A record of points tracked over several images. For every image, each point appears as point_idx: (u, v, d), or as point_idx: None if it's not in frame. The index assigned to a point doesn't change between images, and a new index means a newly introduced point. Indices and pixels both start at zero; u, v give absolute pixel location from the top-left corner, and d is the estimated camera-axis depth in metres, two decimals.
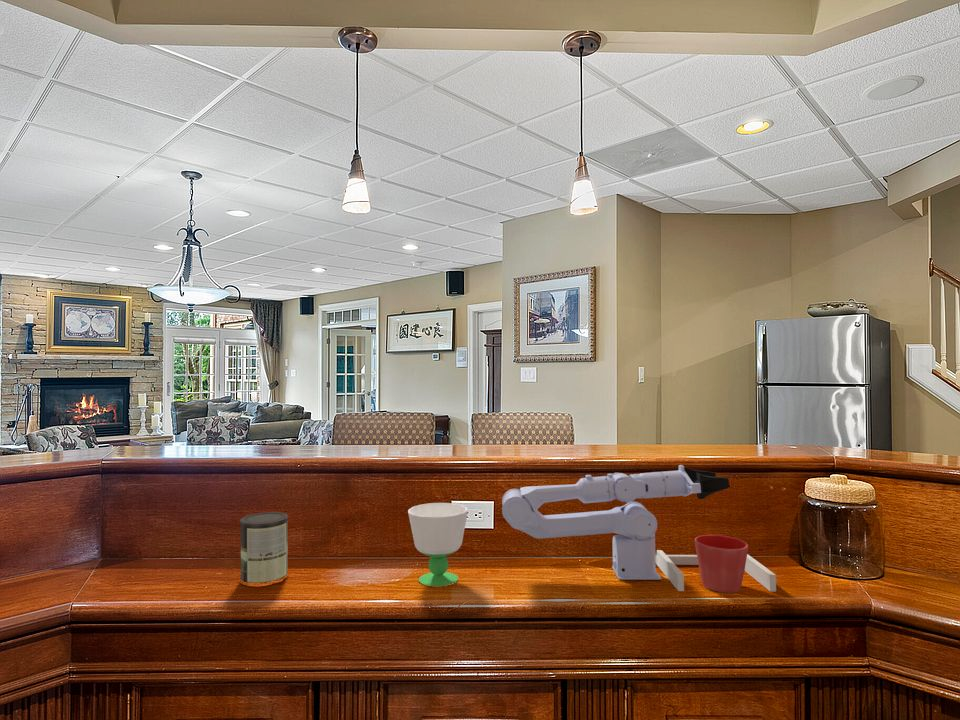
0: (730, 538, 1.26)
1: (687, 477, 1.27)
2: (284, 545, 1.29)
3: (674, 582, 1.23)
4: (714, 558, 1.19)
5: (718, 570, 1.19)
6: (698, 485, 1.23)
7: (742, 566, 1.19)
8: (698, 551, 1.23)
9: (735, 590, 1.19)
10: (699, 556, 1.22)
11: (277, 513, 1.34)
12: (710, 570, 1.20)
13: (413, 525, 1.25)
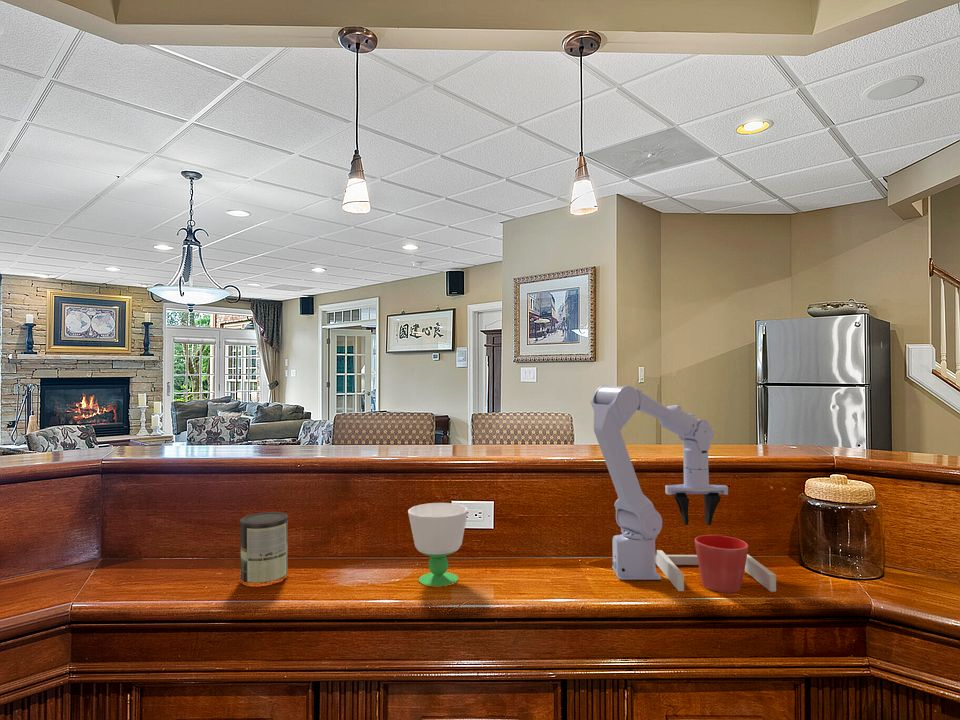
0: (730, 538, 1.26)
1: None
2: (284, 545, 1.29)
3: (674, 582, 1.23)
4: (714, 558, 1.19)
5: (718, 570, 1.19)
6: None
7: (742, 566, 1.19)
8: (698, 551, 1.23)
9: (735, 590, 1.19)
10: (699, 556, 1.22)
11: (277, 513, 1.34)
12: (710, 570, 1.20)
13: (413, 525, 1.25)
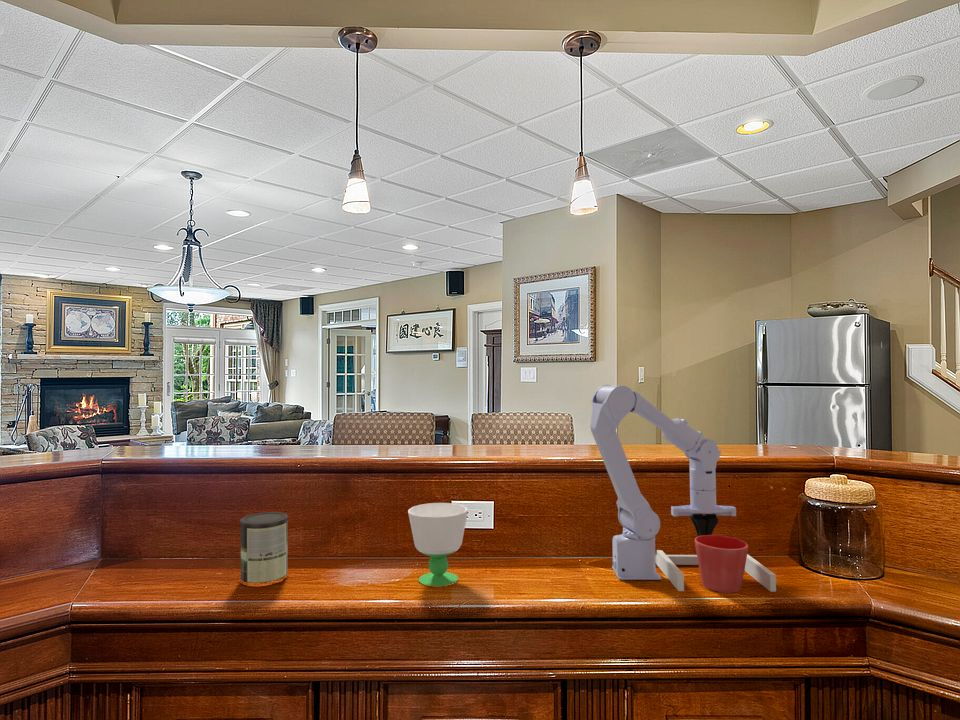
0: (730, 538, 1.26)
1: None
2: (284, 545, 1.29)
3: (674, 582, 1.23)
4: (714, 558, 1.19)
5: (718, 570, 1.19)
6: None
7: (742, 566, 1.19)
8: (698, 551, 1.23)
9: (735, 590, 1.19)
10: (699, 556, 1.22)
11: (277, 513, 1.34)
12: (710, 570, 1.20)
13: (413, 525, 1.25)
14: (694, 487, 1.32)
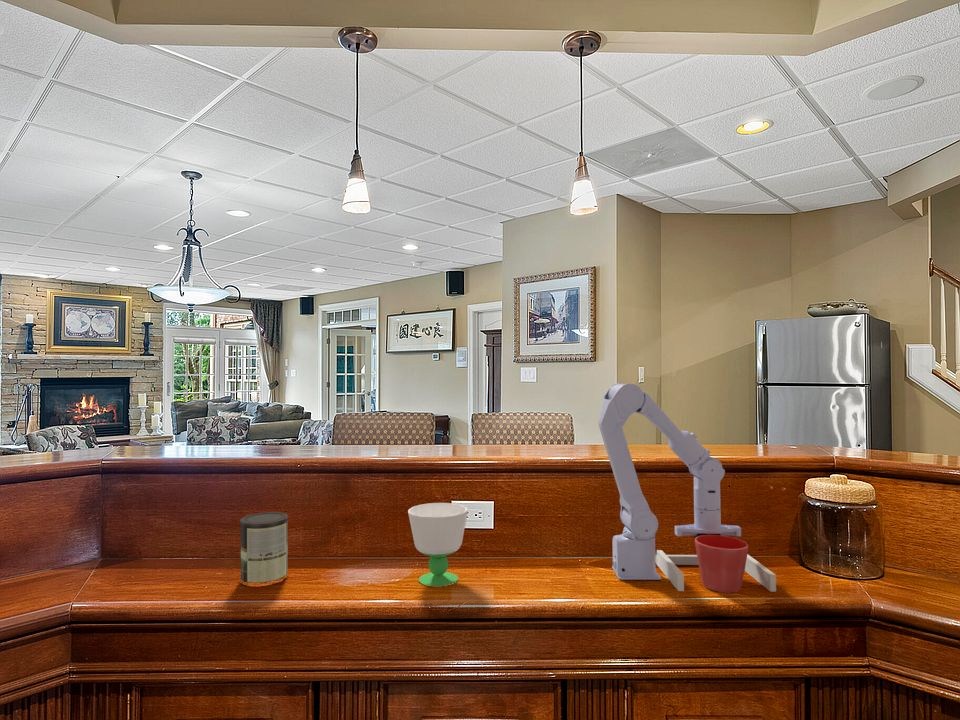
0: (730, 538, 1.26)
1: None
2: (284, 545, 1.29)
3: (674, 582, 1.23)
4: (714, 558, 1.19)
5: (718, 569, 1.19)
6: None
7: (742, 566, 1.19)
8: (698, 551, 1.23)
9: (735, 590, 1.19)
10: (699, 556, 1.22)
11: (277, 513, 1.34)
12: (710, 570, 1.20)
13: (413, 525, 1.25)
14: (697, 506, 1.30)
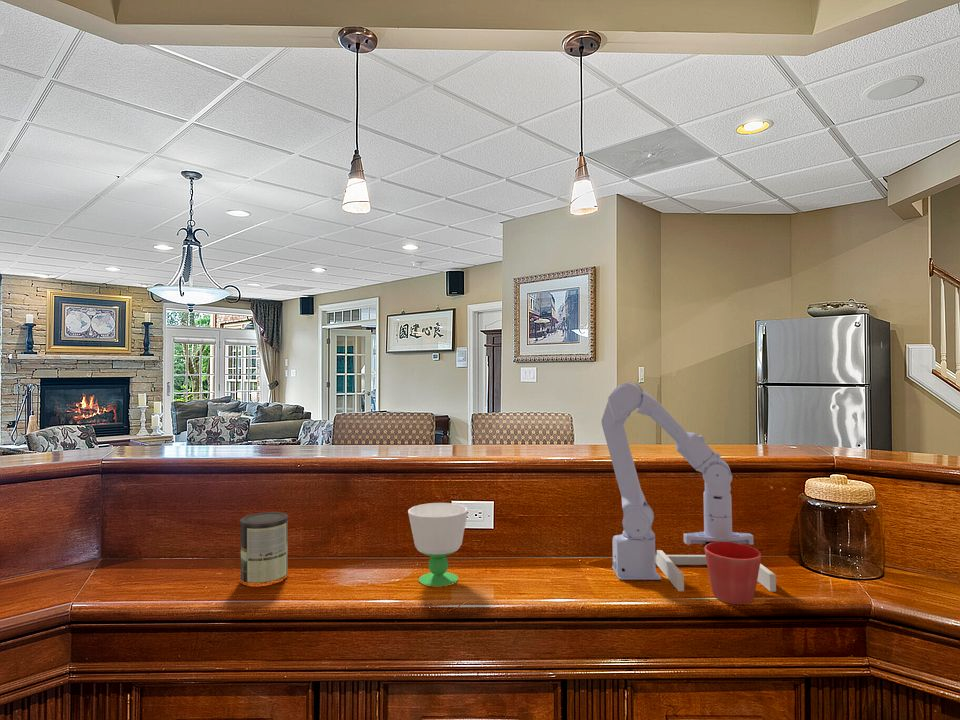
0: (745, 546, 1.20)
1: None
2: (284, 545, 1.29)
3: (674, 582, 1.23)
4: (722, 568, 1.13)
5: (726, 580, 1.13)
6: None
7: (753, 577, 1.12)
8: (707, 559, 1.17)
9: (746, 602, 1.13)
10: (708, 564, 1.17)
11: (277, 513, 1.34)
12: (718, 580, 1.14)
13: (413, 525, 1.25)
14: (704, 511, 1.25)
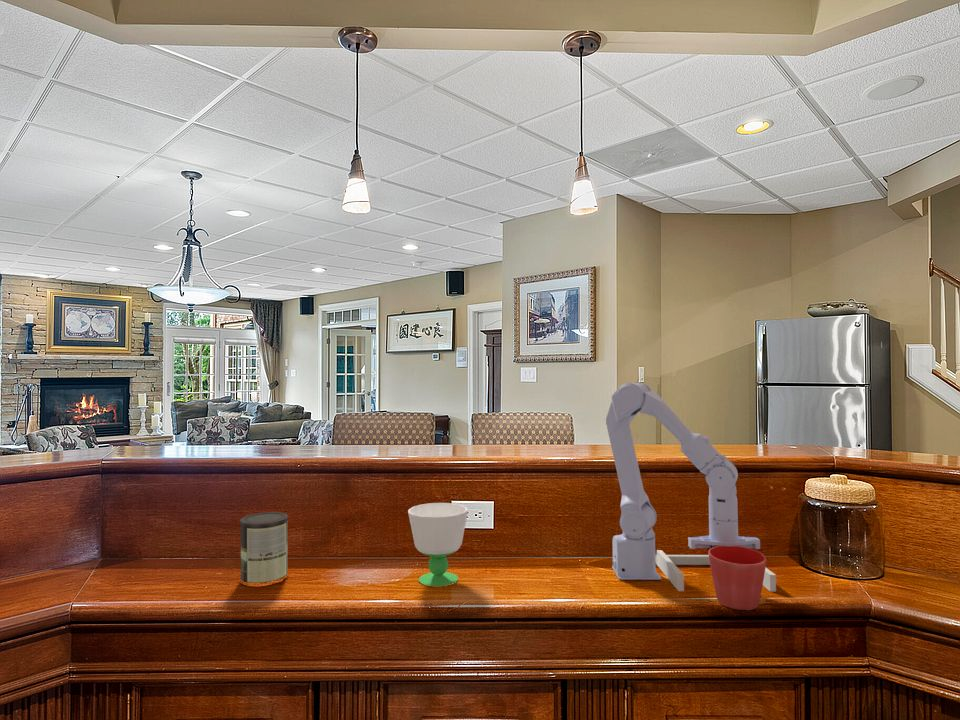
0: (752, 551, 1.16)
1: None
2: (284, 545, 1.29)
3: (674, 582, 1.23)
4: (723, 572, 1.11)
5: (728, 585, 1.11)
6: None
7: (756, 583, 1.09)
8: (710, 563, 1.15)
9: (749, 608, 1.10)
10: (711, 568, 1.15)
11: (277, 513, 1.34)
12: (720, 584, 1.12)
13: (413, 525, 1.25)
14: (709, 514, 1.22)
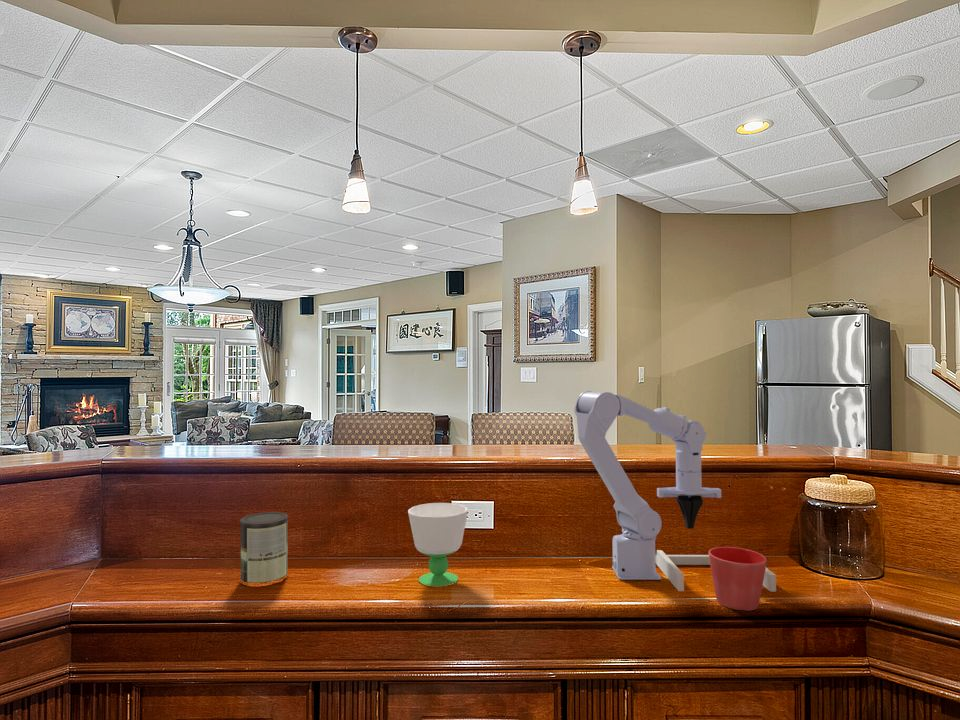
0: (752, 552, 1.17)
1: None
2: (284, 545, 1.29)
3: (674, 582, 1.23)
4: (724, 572, 1.11)
5: (728, 584, 1.11)
6: None
7: (756, 583, 1.09)
8: (710, 563, 1.15)
9: (748, 608, 1.10)
10: (711, 568, 1.15)
11: (277, 513, 1.34)
12: (720, 584, 1.12)
13: (413, 525, 1.25)
14: (681, 469, 1.34)
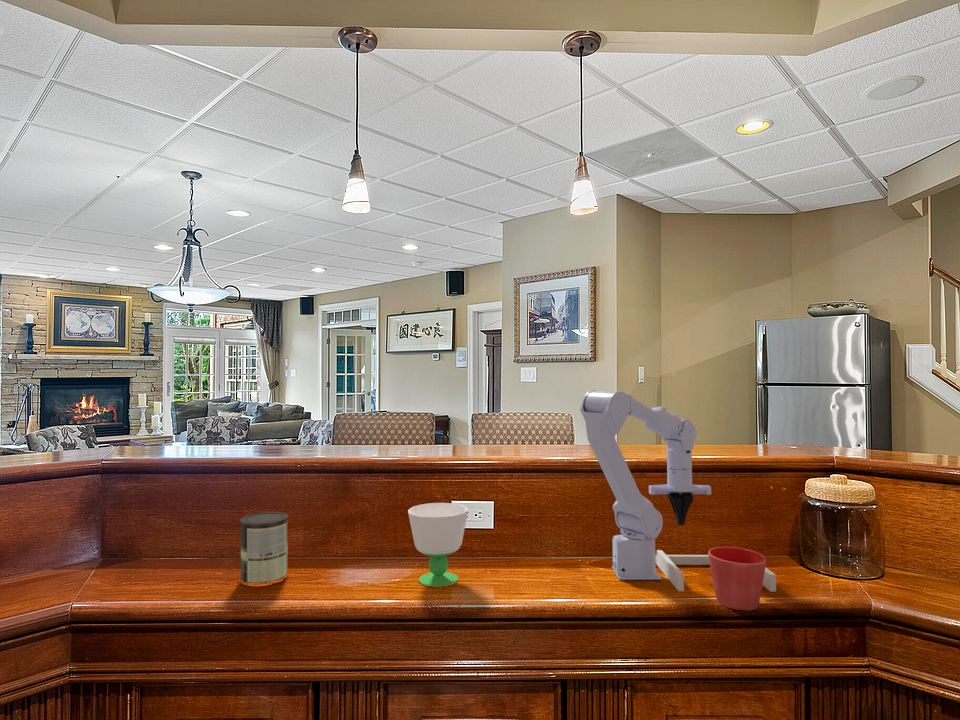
0: (752, 552, 1.17)
1: None
2: (284, 545, 1.29)
3: (674, 582, 1.23)
4: (723, 572, 1.11)
5: (728, 584, 1.11)
6: None
7: (756, 583, 1.10)
8: (710, 563, 1.15)
9: (748, 608, 1.10)
10: (711, 568, 1.15)
11: (277, 513, 1.34)
12: (720, 584, 1.12)
13: (413, 525, 1.25)
14: (675, 467, 1.36)
